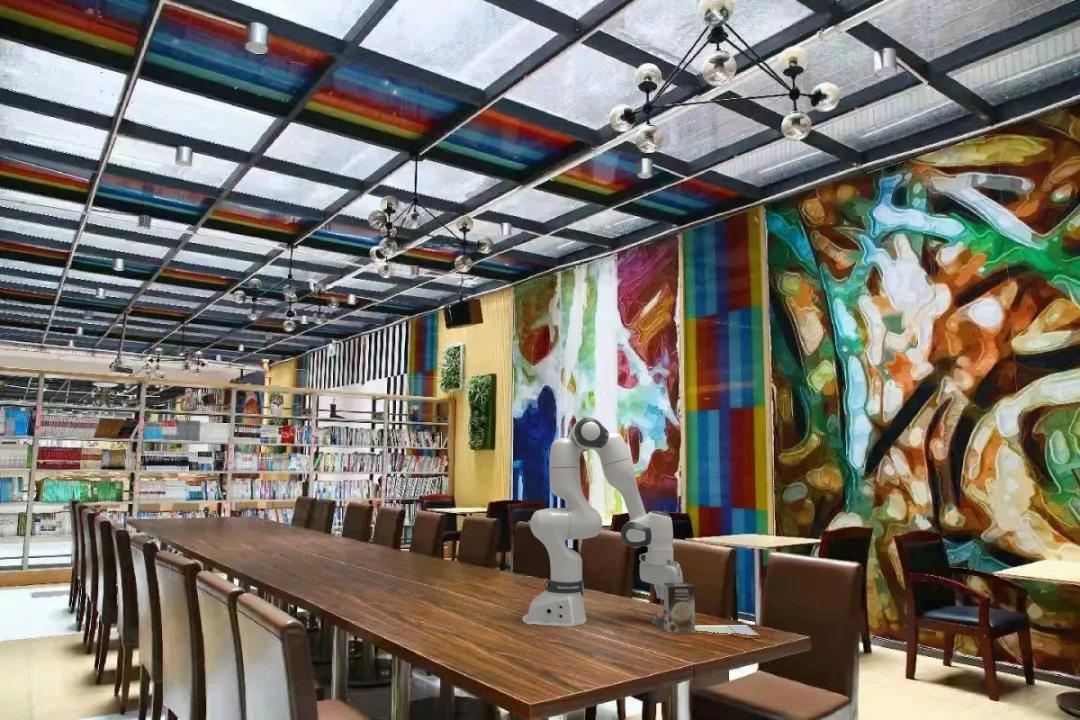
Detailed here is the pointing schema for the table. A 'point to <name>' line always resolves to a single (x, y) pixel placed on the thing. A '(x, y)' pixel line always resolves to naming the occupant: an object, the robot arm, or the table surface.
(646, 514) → the robot arm
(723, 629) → the picture board
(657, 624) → the button housing
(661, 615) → the button
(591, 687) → the table surface
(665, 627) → the coffee box
